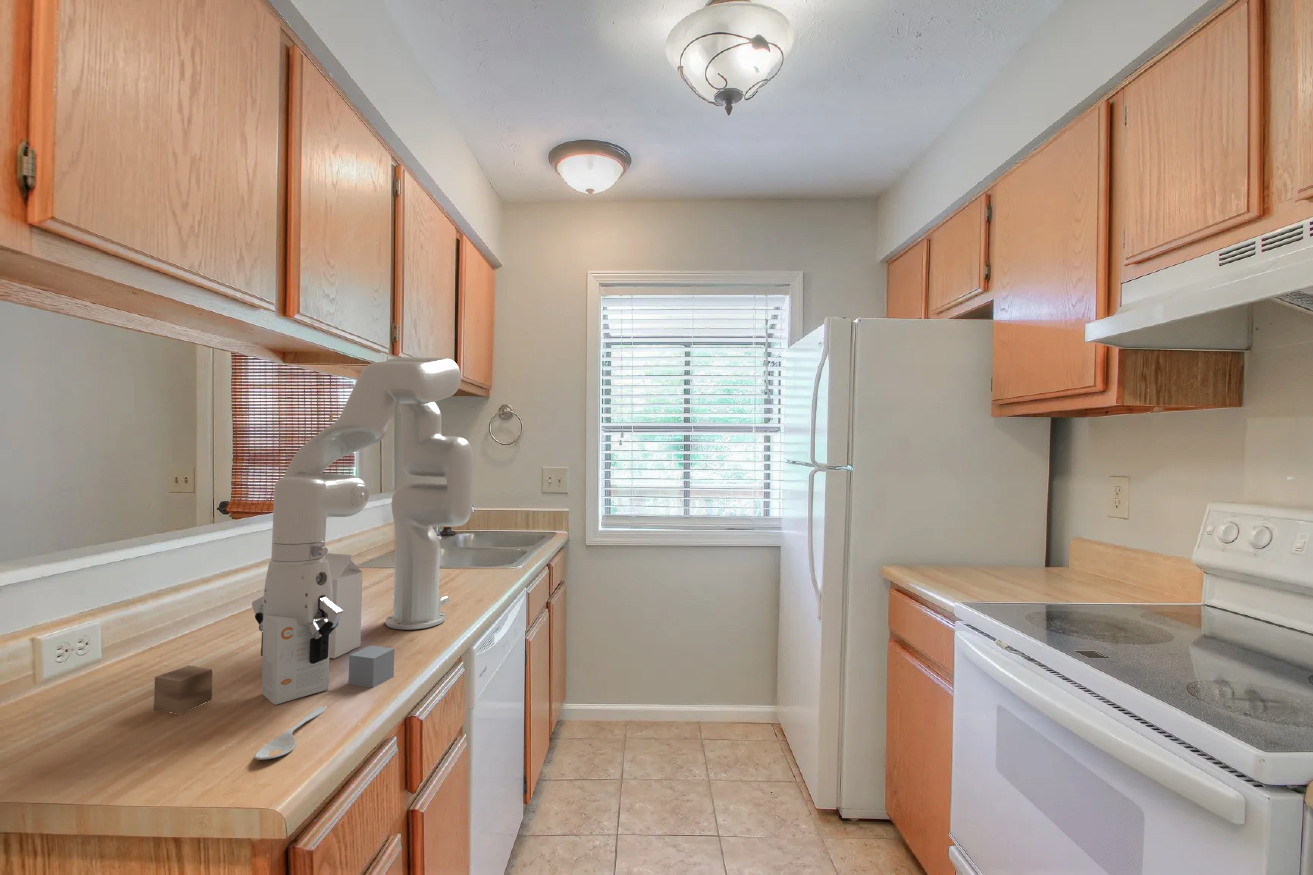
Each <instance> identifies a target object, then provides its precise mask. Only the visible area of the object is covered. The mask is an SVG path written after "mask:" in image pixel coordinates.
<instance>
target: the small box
mask: <svg viewBox="0 0 1313 875" xmlns="http://www.w3.org/2000/svg"><path fill="white" fill-rule="evenodd" d="M323 613H324V612H323ZM324 615H325V616H327V613H326V612H325V613H324ZM319 616H320V615H319V614H317V615H315V616H314V618H317V617H319ZM326 618H327V620H328V617H326ZM317 625H318V627H319V629H320V628H321V625H320V624H319V623H317ZM262 632H263V651H262V656H261V657H262V658H261V666H262V667H261V694H263V695H262V696H263V697H265V696H266V697H267V698H268V699H269V700H270V701H269V700H268V699H267V698H266V697H265V698H266V699H267V700H268V701H269V702H271V703H272V704H273V705H275V706H276V705H280V704H283V703H286V702H287V703H288V702H290V701H294V700H296V699H300V698H304V697H308V696H310V695H311V696H312V695H314V694H317V693H318V694H319V693H321V692H325V691H328V690H329V681H330V680H329V679H330V678H329V676H330V672H329V671H330V658H329V647H328V657H327V659H324V660H322V661H319V662H317V663H315V664H311V663H310V662H309V653H310V639H311V638H314V636H313V635H312V633H311V631H310V630H309V628H308V626H307V625H299V624H297V620H296V619H294V618H287V617H280V616H271V615H263V631H262ZM329 640H330V634H329Z"/></svg>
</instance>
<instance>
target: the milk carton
mask: <svg viewBox="0 0 1313 875" xmlns="http://www.w3.org/2000/svg"><path fill="white" fill-rule="evenodd" d="M324 560H328V562H329V566H330V571H331V578H332V593H333V603H334V604H335V605H336V606H338V607H339V608H340V609H342V611H343V614H342V616H341V618H340V620H339V622H338V626H337V627H336V628H335V629H334V630H333V633H332V634H330V640H329V659H336V658H338V657H342V656H343V655H345V654H347V653H348V652H351V651H353V650H354V649H357V648H359V647H361V639H362V638H361V637H362V634H361V633H362V632H361V631H362V630H361V629H362V606H363V605H362V604H363V603H362V602H363V600H362V599H363V598H362V596H363V571H362V570H361V569H360V567H358V566H357V564H355V563H354V562H353V561H352V554H342V553H328V552H327V554H326V555H325V559H324Z"/></svg>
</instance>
